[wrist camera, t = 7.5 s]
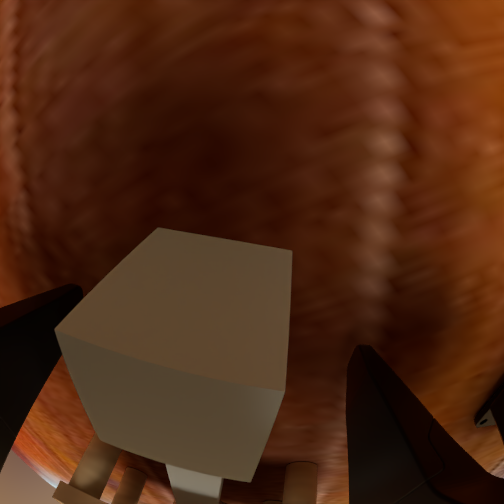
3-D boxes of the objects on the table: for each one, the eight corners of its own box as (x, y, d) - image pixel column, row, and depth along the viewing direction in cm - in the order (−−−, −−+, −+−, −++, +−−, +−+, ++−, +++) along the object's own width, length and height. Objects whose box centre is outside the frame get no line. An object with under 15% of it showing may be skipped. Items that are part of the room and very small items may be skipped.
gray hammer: (292, 250, 9) (284, 391, 4) (231, 493, 17) (220, 548, 13) (158, 227, 9) (54, 328, 4) (179, 481, 18) (162, 534, 13)
